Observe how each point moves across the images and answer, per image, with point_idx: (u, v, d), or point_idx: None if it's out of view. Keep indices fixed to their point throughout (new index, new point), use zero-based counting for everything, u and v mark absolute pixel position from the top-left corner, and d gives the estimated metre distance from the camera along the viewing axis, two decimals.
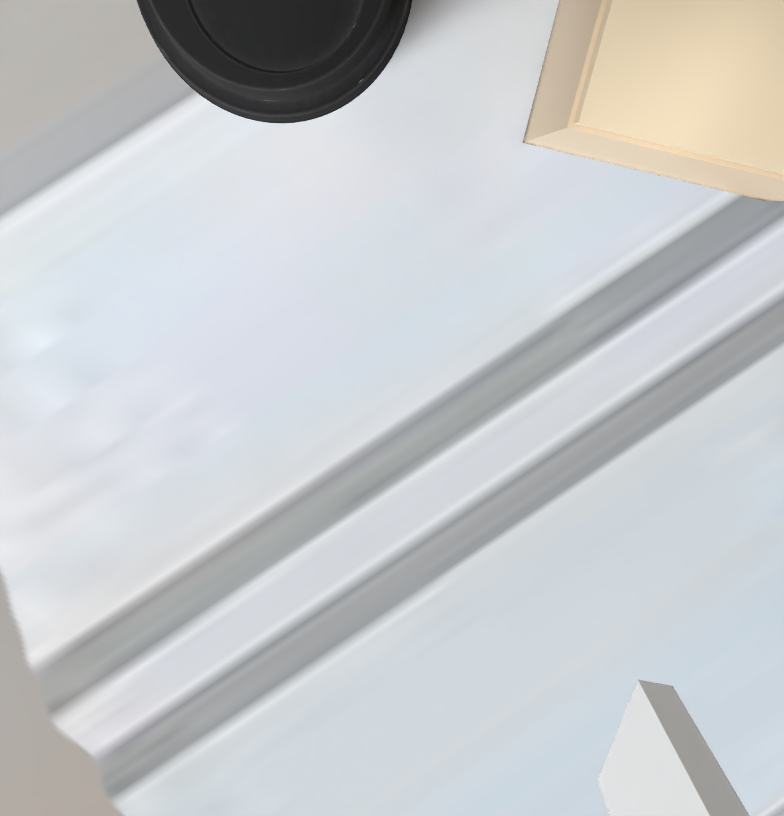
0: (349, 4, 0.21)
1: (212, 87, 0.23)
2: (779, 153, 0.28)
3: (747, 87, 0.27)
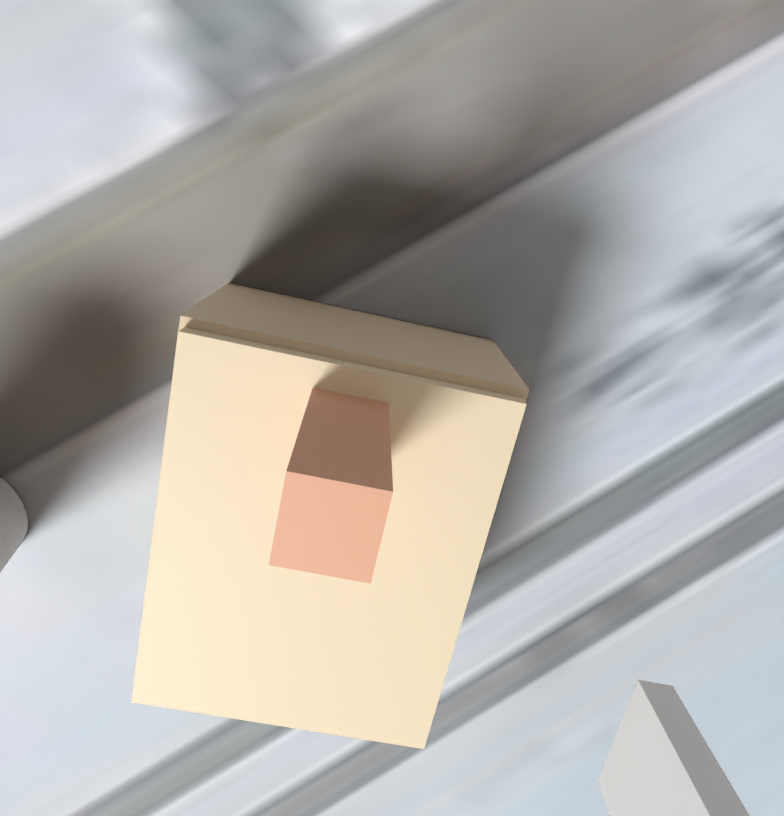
0: None
1: None
2: (318, 720, 0.31)
3: (277, 676, 0.30)
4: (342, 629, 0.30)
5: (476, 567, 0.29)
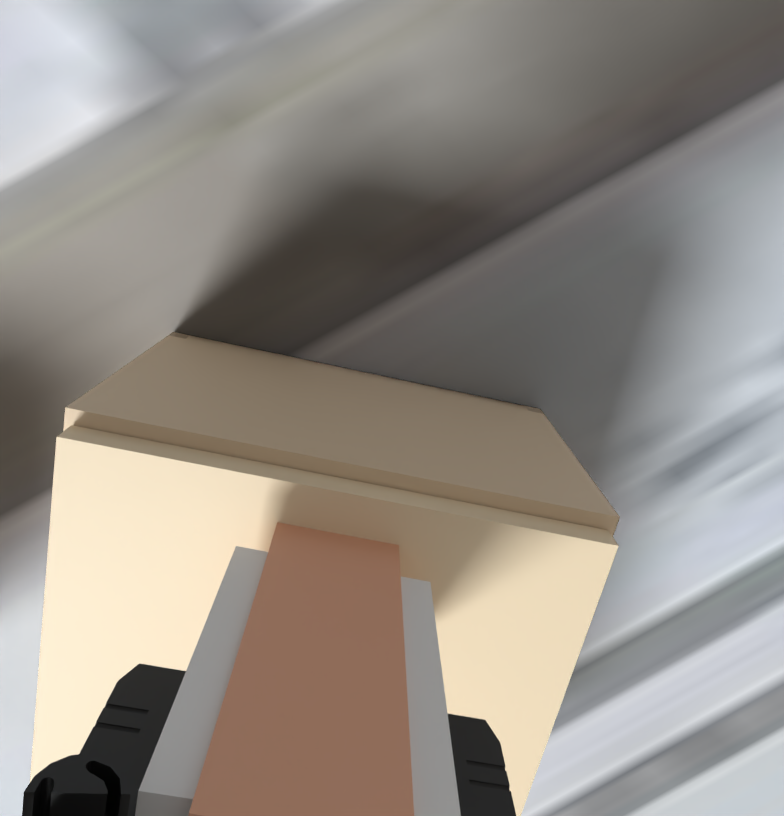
0: None
1: None
2: None
3: None
4: None
5: (530, 778, 0.19)
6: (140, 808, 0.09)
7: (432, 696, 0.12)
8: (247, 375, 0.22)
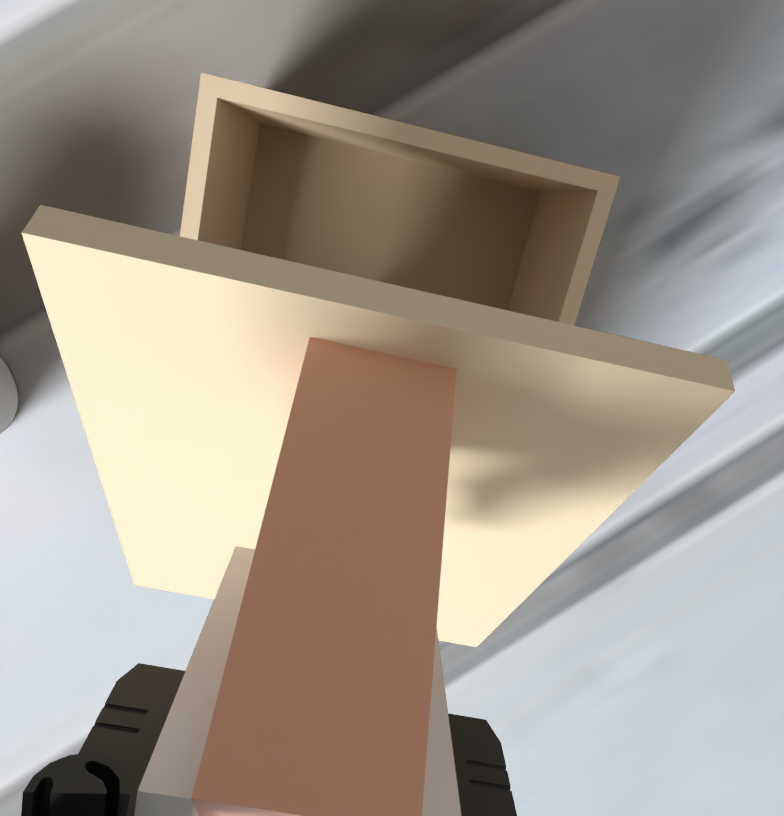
0: None
1: None
2: None
3: None
4: None
5: (574, 545, 0.19)
6: (139, 808, 0.09)
7: (433, 696, 0.12)
8: None
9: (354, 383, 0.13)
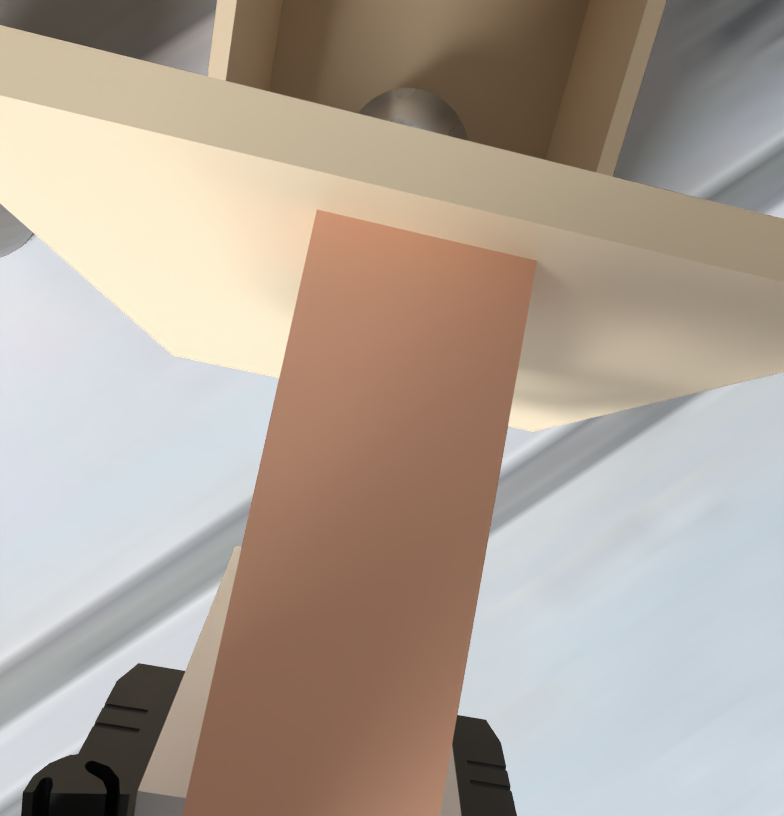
0: None
1: None
2: None
3: None
4: None
5: (663, 399, 0.16)
6: (139, 808, 0.09)
7: None
8: None
9: (381, 292, 0.09)
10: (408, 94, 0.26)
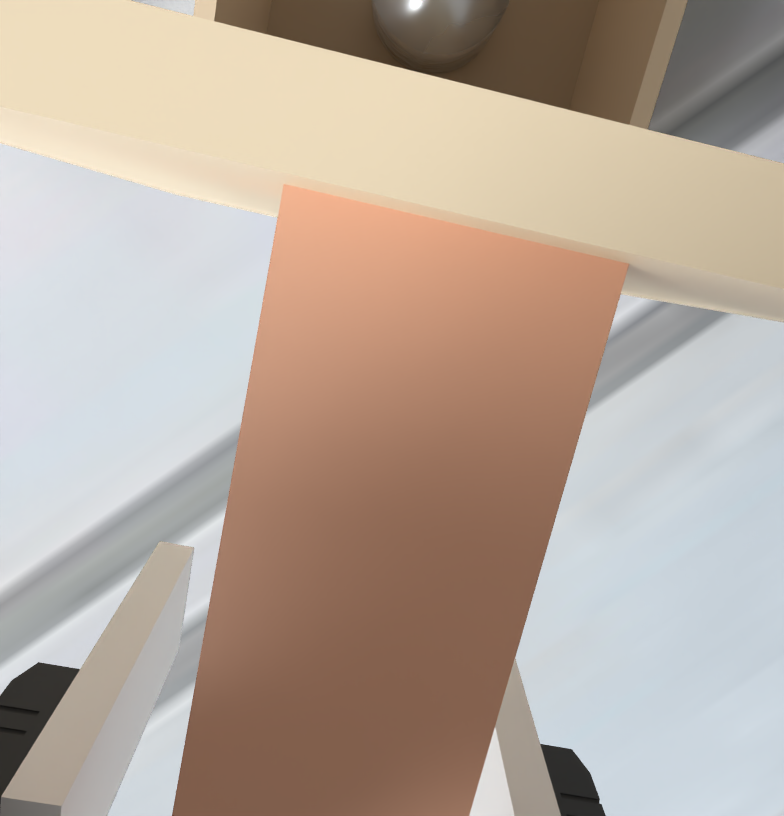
0: None
1: None
2: None
3: None
4: None
5: None
6: (4, 815, 0.09)
7: (522, 727, 0.12)
8: None
9: (384, 318, 0.06)
10: None
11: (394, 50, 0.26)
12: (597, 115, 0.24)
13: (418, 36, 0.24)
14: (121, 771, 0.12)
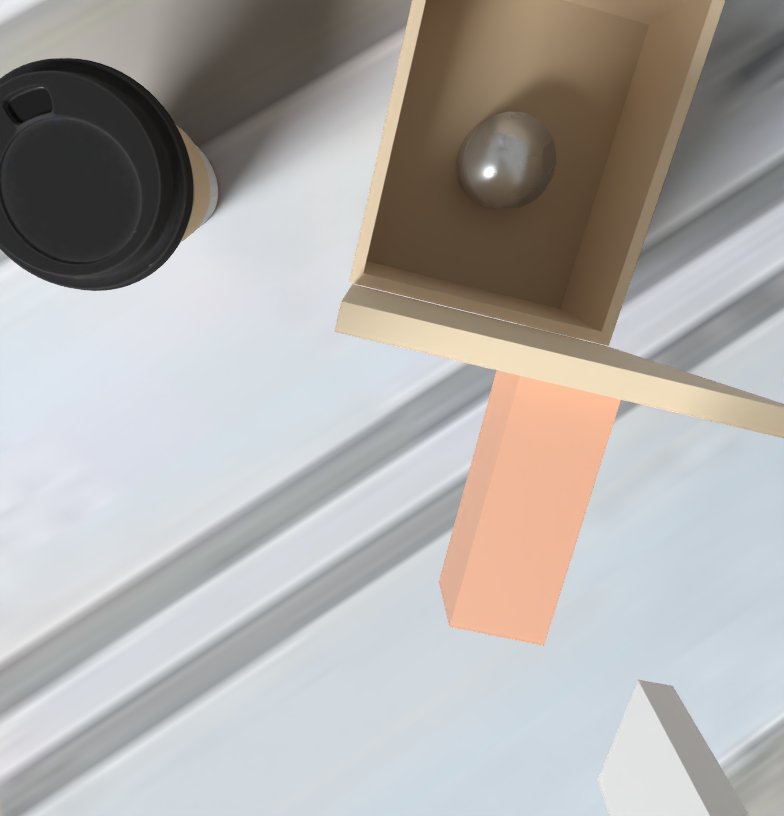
0: (131, 215, 0.28)
1: (32, 267, 0.29)
2: None
3: None
4: None
5: None
6: None
7: None
8: None
9: (547, 410, 0.19)
10: (519, 116, 0.36)
11: (470, 194, 0.40)
12: (604, 247, 0.38)
13: (491, 195, 0.38)
14: None
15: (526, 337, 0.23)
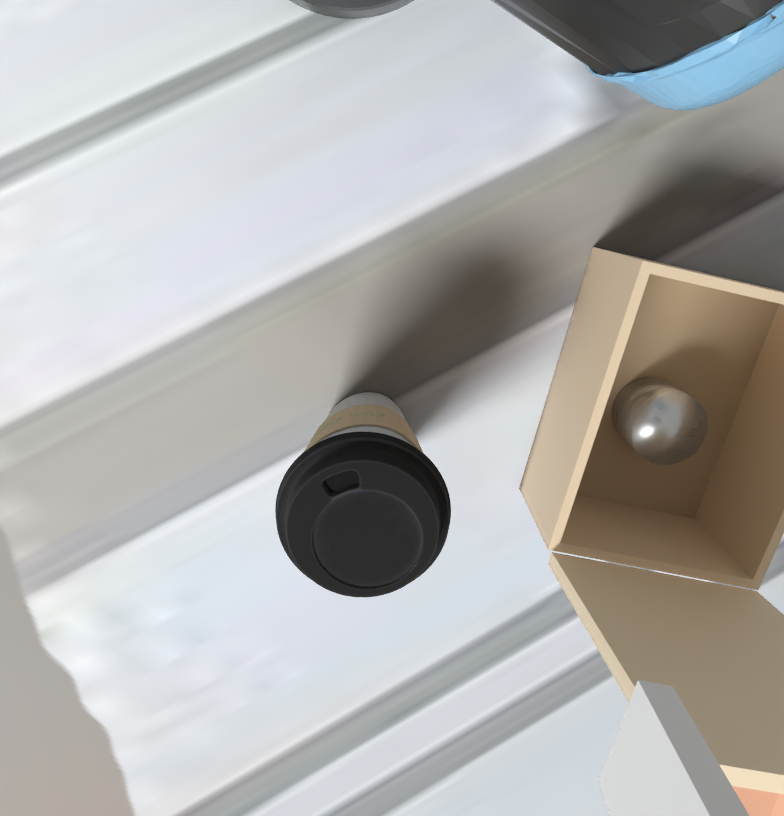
0: (412, 553, 0.35)
1: None
2: None
3: None
4: None
5: None
6: None
7: None
8: (660, 263, 0.42)
9: None
10: (682, 397, 0.44)
11: None
12: (746, 494, 0.45)
13: (650, 455, 0.45)
14: None
15: (759, 700, 0.30)
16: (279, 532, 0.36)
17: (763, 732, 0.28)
